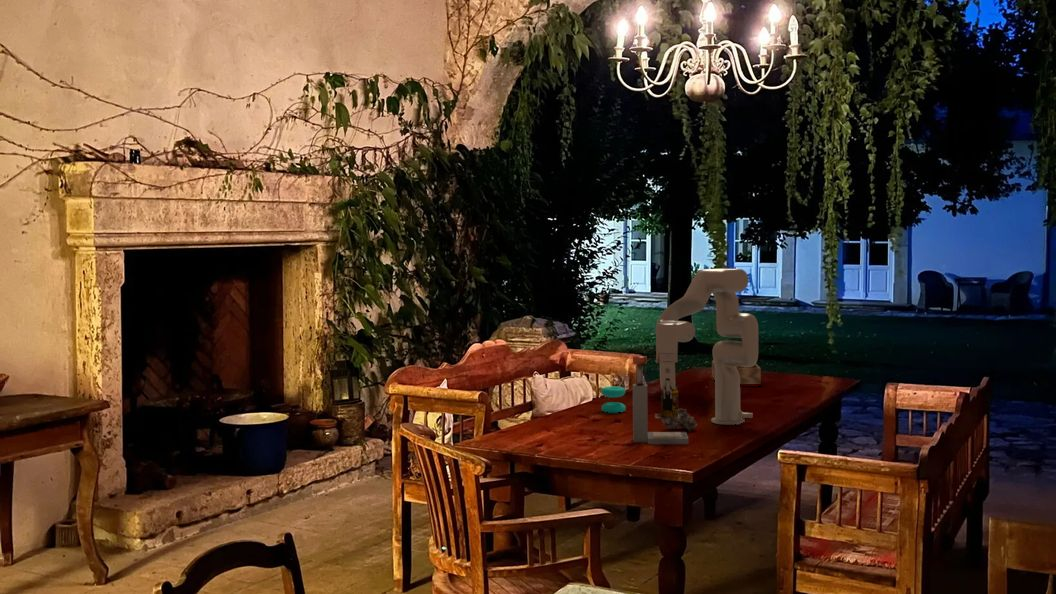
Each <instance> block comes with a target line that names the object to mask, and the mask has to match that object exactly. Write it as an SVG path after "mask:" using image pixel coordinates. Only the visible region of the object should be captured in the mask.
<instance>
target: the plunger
mask: <svg viewBox="0 0 1056 594" xmlns="http://www.w3.org/2000/svg"><path fill="white" fill-rule="evenodd" d="M632 364H633V365H636V384H637V386H643V384H644V380H643V379H644V376H643V375H644V373H643V371H644V366H643V365H647V364H648V356H646V355H634V356H632Z"/></svg>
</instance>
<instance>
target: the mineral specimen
mask: <svg viewBox="0 0 1056 594" xmlns="http://www.w3.org/2000/svg"><path fill="white" fill-rule="evenodd" d="M678 414H679V417H680V418H660V419H661V423H662V424H663V426H665V428H668V430H672V429H673V430H675V429H676V430H678V427H679V428H682V429H684V428H685V429H686V430H687V431H688V432H692V430H693V429H694V428H696V427H697V426H698V423H697V421H696V420H695V418H694V416H690V413H688V410H687V408H683V407H680V408H678ZM676 430H675V431H676Z"/></svg>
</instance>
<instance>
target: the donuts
mask: <svg viewBox="0 0 1056 594" xmlns="http://www.w3.org/2000/svg"><path fill="white" fill-rule="evenodd" d="M600 393H601V394H602V395H603V396H604V397H608V398H620V397H623V396H624V395H625V394H626V389H625V387H623V386H615V385H614V386H612V385H611V386H604V387H603V388H601V391H600ZM626 409H627V408H626V405H625V404H624V403H622V402H617V401H616V402H615V401H610V402H604V404H602V405H601V411H602V412H603V411H604V412H603V413H606V412H608V413H607V414H619V413H618V412H621V413H623V412H625V411H626Z"/></svg>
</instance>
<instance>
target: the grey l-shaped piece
mask: <svg viewBox="0 0 1056 594" xmlns="http://www.w3.org/2000/svg"><path fill="white" fill-rule="evenodd" d="M648 410H649V409H648V384H647V383H643V386H637V383H632V428H633V429H632V433H633V434H632V436H633V437H632V438H633V439H632V441H633V443H647V445H689V440H690V439H689V436H688V434H687V432H686V431H649V430H648V429H649V427H648V425H649V424H648V422H649V421H648V418H649V417H648V415H649V414H648V412H649V411H648Z"/></svg>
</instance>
